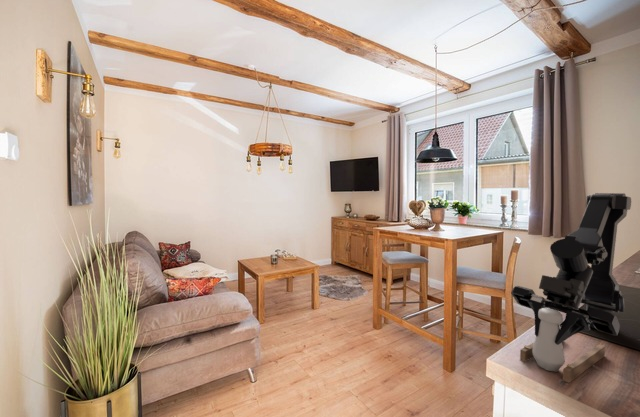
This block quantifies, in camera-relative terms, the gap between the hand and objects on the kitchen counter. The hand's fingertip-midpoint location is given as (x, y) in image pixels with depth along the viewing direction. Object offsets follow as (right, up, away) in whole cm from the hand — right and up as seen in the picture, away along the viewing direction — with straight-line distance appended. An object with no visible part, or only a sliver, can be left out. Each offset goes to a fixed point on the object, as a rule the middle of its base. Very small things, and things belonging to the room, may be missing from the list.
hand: (546, 339), depth 63 cm
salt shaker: (+1, -7, +1) cm, 7 cm away
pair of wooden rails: (+8, -7, +5) cm, 11 cm away
